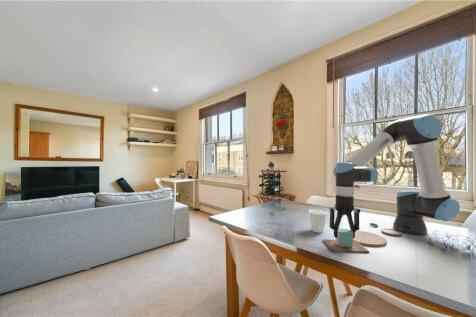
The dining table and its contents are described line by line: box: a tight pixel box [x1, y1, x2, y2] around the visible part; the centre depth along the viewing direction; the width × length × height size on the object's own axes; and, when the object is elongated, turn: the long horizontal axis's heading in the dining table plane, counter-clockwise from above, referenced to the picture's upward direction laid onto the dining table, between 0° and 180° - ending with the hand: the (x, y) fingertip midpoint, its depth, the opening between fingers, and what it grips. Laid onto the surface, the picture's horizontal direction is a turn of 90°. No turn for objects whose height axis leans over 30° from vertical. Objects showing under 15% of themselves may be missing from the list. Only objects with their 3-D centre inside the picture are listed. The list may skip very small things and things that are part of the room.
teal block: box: [338, 228, 354, 247], centre depth 95 cm, size 5×5×7 cm
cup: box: [308, 209, 328, 234], centre depth 115 cm, size 10×10×11 cm
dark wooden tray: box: [321, 238, 370, 254], centre depth 95 cm, size 16×12×7 cm
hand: (344, 244), depth 95 cm, fingers closed on teal block, 5 cm apart
